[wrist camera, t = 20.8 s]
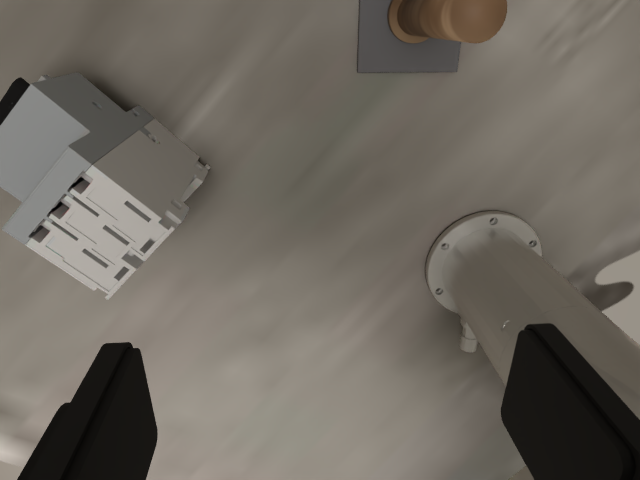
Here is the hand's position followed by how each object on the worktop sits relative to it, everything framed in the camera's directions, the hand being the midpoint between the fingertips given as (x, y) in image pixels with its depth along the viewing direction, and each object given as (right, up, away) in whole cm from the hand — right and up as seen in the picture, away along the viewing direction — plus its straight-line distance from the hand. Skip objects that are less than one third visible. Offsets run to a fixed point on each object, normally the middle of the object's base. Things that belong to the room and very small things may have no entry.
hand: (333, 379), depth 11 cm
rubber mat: (+7, +23, +28) cm, 37 cm away
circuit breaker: (-18, +12, +31) cm, 38 cm away
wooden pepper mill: (+8, +23, +27) cm, 36 cm away
